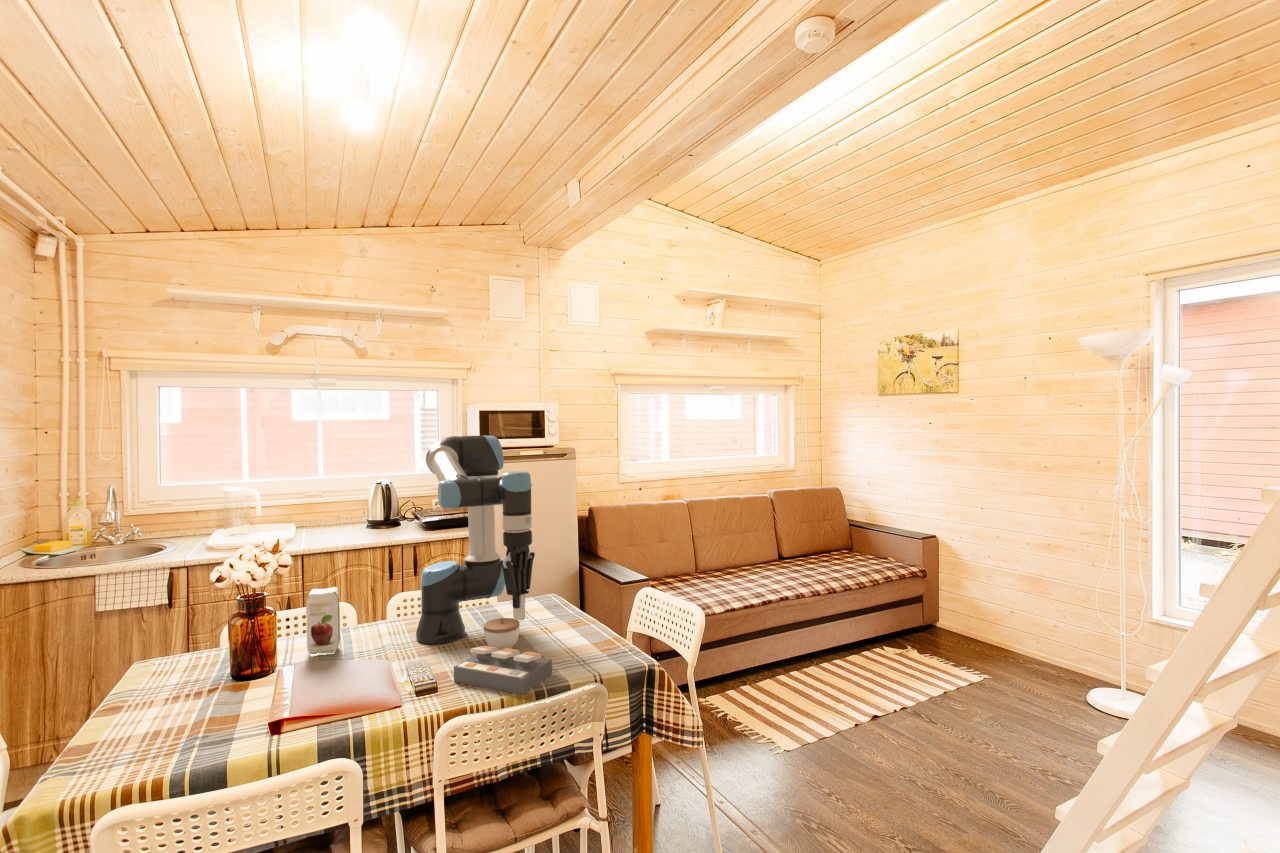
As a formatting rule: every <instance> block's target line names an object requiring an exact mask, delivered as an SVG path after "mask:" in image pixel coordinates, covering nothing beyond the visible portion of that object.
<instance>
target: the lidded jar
mask: <svg viewBox="0 0 1280 853" xmlns="http://www.w3.org/2000/svg"><path fill="white" fill-rule="evenodd" d="M483 634H484V639H485V643H486V644H487V645H486V646H490V647H496V648H498V651H500V650H502V649H505V648H509V649H513V647H514V646H515V645H516V644H517V642H518V640H519V636H520V620H514V619H513V618H512V617H499V618H494V619H491V620H488V621H486V622H485V623H484V624H483Z"/></svg>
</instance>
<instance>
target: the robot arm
mask: <svg viewBox="0 0 1280 853" xmlns="http://www.w3.org/2000/svg"><path fill="white" fill-rule="evenodd" d="M504 461H505V460H504V453H503V448H502V444H501V442H500V441H499V438H498V437H496V436H495V435H485V434H483V435H460V436H458V435H456V436H455V435H453V436H452V435H451V436H447V437H445V438H444V437H443V438H442V439H441V438H440V439H439V440H437V441H436V442H435V443H433V444H432V446H430V447H429V449H428V450H427V452H426V457H425V462H426V466H427V467H428V469H429V471H430V472H431V473H432V474H434V475H435V476H436V478H437V480H438V482H439V483H438V487H437V500H438V505H439V506H440V508H442V509H459V508H467V518H468V520H467V522H468V554H467V555H466V556H465V557H464V564H459V562H458V561H456V560H446V561H439V562H436V563H433V564H430V565H427V566H426V567H425V568H424V569H422V571H421V574H420V576H421V577H420V589H421V590H420V591H421V593H420V596H421V599H420V600H421V602H420V604H421V615H420V618H419V621H418V625H417V629H416V631H415V632H416V633H415V635H416V636H415V638H416V639H417V640H418V641H420V642H419V643H421V642H423V643H422V644H425V643H428V644H427V645H441V644H446V643H451V642H455V641H457V640H460V639H461V638H463V637H464V636H465V635H466V627H465V626H466V625H465V623H464V622H463V618H462V615H461V612H460V603H461V602H466V601H474V600H482V599H488V600H489V599H490V598H495V597H498V596H500V595H502V593H503V592H504V589H506V594H507V595H509V596H511V597H512V611H513V614H512V616H513V619H514V620H518V621H524V620H525V619H526V594H529V592H530V591H529V590H530V589H531V581H532V574H533V563H534V558H535V555H536V553H535V552H533V551H531V550H530V546H531V545H532V543H533V531H532V530H531V529H532V487H533V486H532V481H531V480H532V479H531V474H530V472H528V471H508V472H506V471H505V472H504V473H502V476H499V471H501V470H503V468H504ZM498 476H499V477H498ZM497 505H498V506H499V505H502V529H503V533H502V542H503V543H502V544H503V546H504V547H506V553H505V559H504V560H502V559H501V555H500V554H498V552H497V551H496V519H495V518H496V517H495V506H497ZM417 640H416V641H417ZM418 641H417V642H418ZM440 643H441V644H440Z"/></svg>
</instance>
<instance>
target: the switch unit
mask: <svg viewBox="0 0 1280 853" xmlns="http://www.w3.org/2000/svg"><path fill="white" fill-rule="evenodd" d="M520 654H521V653H519V655H520ZM491 655H492V653H489V654H478V653H475V654H474V655H472V656H470V657H468V658H467V659H465V660H464V661H462V662H459V663H457V665H455V666H453V682H454V683H458V684H463V685H468V684H469V686H474V687H479V688H480V687H481V688H486V689H491V690H494V691H502V692H506V691H507V692H506V693H511V692H515V693H514V694H517V693H518V695H526V694H527V693H528V692H530V691H531V690H532V689H534V688H535V687H536V686H537V684H538V685H539V684H541V683H542V682H543V681H545V680H546V679H547V678H548V677H550V676H551V675H552V674H553V659H552V658H546V657H541V658H539V659H536V660H534V661H531V662H528V663H527V662H520V661H514V660H513V659H514V656H513V657H510V658H507V659H502V658H496V657H491ZM516 656H517V655H516ZM550 674H551V675H550ZM549 675H550V676H549ZM546 677H547V678H546ZM545 678H546V679H545ZM542 680H543V681H542ZM541 681H542V682H541ZM534 686H535V687H534ZM533 687H534V688H533ZM531 688H532V689H531ZM530 689H531V690H530ZM529 690H530V691H529Z"/></svg>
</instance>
